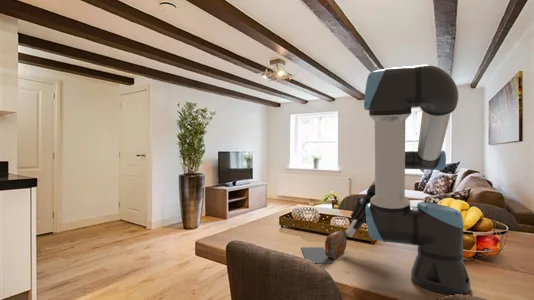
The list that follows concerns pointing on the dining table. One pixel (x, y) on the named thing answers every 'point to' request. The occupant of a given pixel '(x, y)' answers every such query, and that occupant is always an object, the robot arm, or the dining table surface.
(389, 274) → the dining table surface
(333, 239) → the tin
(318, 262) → the mat
